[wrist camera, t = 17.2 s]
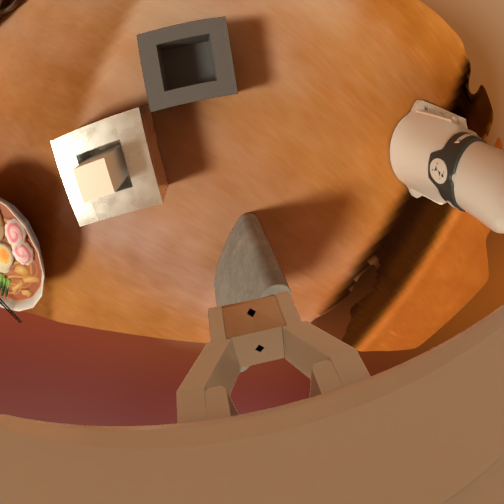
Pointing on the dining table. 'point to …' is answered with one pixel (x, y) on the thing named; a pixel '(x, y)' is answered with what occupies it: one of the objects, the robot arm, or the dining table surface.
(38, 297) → the ramen bowl
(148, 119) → the port box
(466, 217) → the dining table surface
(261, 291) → the hip flask
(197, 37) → the grey square socket block
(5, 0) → the dish
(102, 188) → the plug
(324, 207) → the dining table surface
